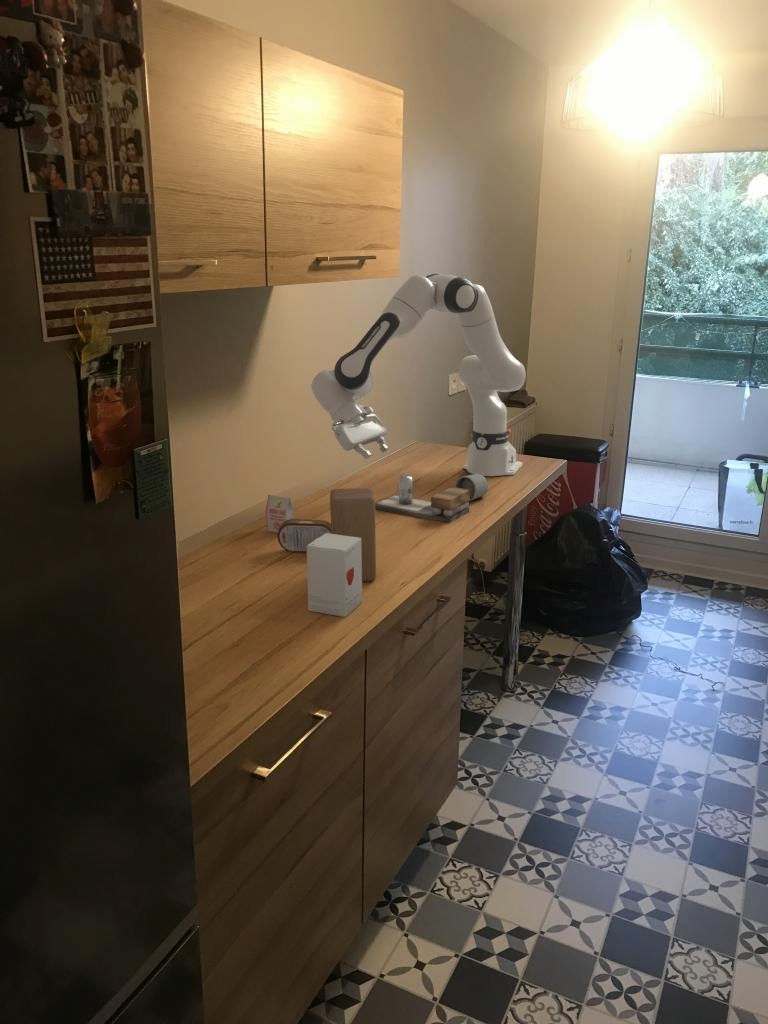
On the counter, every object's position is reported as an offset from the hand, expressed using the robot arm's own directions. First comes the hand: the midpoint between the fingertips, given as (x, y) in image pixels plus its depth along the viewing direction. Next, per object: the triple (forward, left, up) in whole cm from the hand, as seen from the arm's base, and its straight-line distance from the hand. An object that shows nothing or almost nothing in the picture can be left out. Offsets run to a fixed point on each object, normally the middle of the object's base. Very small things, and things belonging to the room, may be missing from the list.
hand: (377, 454), depth 247 cm
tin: (+45, +8, -15) cm, 48 cm away
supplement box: (+69, +34, -15) cm, 78 cm away
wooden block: (+52, +27, -15) cm, 60 cm away
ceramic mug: (-19, +21, -15) cm, 32 cm away
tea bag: (+36, -8, -15) cm, 40 cm away
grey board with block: (0, +15, -15) cm, 21 cm away
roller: (0, +10, -14) cm, 17 cm away
